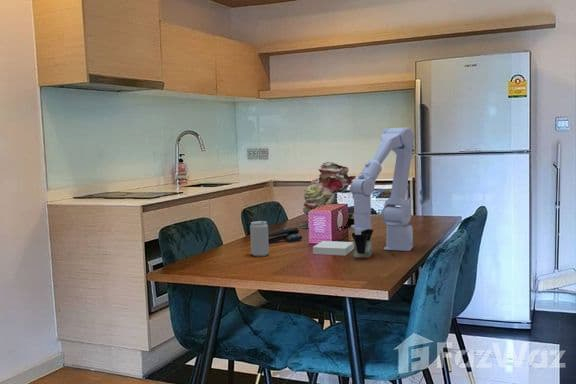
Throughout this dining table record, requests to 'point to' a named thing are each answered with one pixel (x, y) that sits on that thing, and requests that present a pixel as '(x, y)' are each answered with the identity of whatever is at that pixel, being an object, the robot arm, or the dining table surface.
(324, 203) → the rose bouquet
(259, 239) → the beverage can
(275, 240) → the can opener
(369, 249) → the green cube
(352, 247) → the stacking base
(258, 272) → the dining table surface
